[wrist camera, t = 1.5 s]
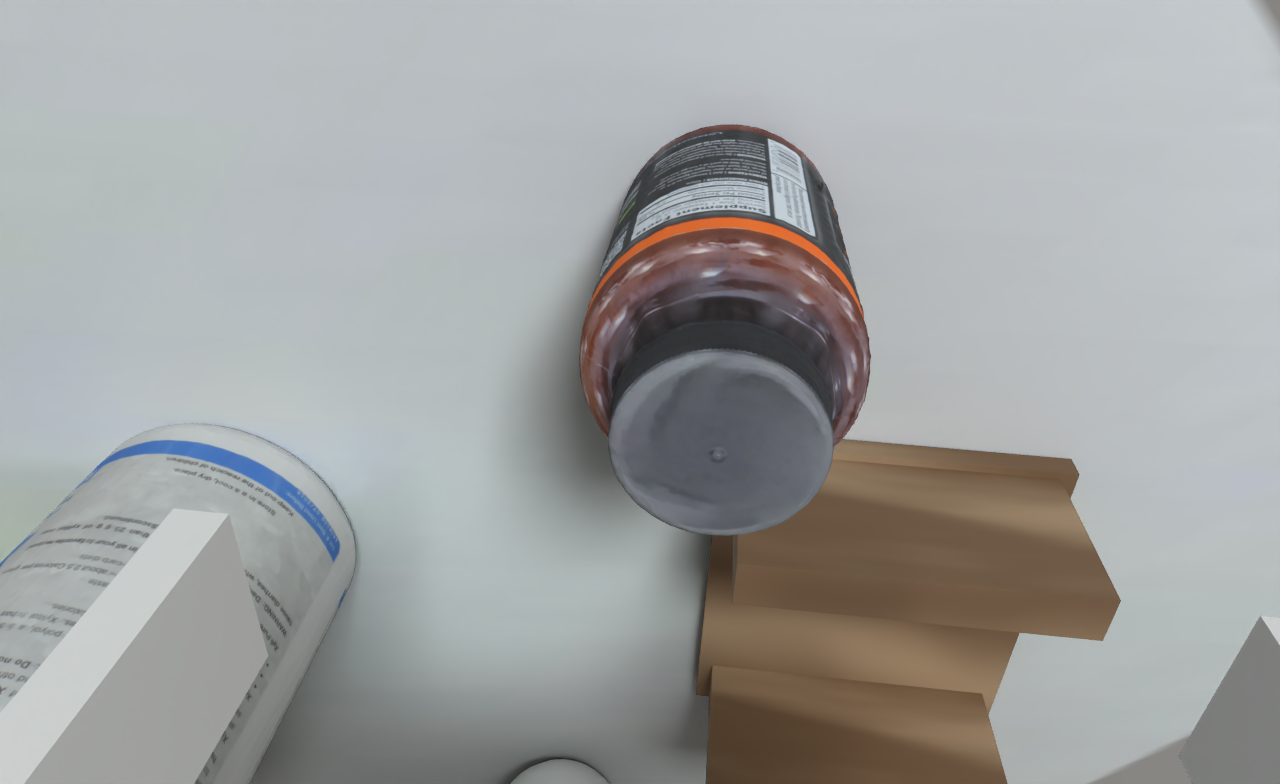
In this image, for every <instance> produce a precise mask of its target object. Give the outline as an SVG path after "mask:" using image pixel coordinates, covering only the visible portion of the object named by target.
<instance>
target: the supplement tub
mask: <svg viewBox="0 0 1280 784" xmlns="http://www.w3.org/2000/svg"><path fill="white" fill-rule="evenodd" d="M173 509H184V510H194V511H204V512H214V513H224V514H229V516H230V519H231V523H232V527H233V530H234V534H235V537H236V541H237V545H238V548H239V552H240V555H241V559H242V563H243V566H244V570H245V573H246V577H247V581H248V584H249V588H250V592H251V595H252V599H253V602H254V606H255V610H256V613H257V617H258V620H259V624H260V628H261V631H262V635H263V638H264V642H265V646H266V649H267V653H268V657H267V659H266V661H265V663H264V664H263V666H262V668H261V669H260V671H259V673H258V675H257V676H256V678H255V680H254V681H253V683H252V685H251V687H250V688H249V690H248V692H247V693H246V695H245V697H244V699H243V700H242V702H241V704H240V706H239V707H238V709H237V711H236V712H235V714H234V716H233V718H232V719H231V721H230V723H229V724H228V726H227V728H226V730H225V731H224V733H223V735H222V736H221V738H220V740H219V742H218V743H217V745H216V747H215V749H214V750H213V752H212V754H211V755H210V757H209V759H208V761H207V762H206V764H205V766H204V767H203V769H202V771H201V773H200V774H199V776H198V778H197V779H196V781H195V783H194V784H249V783H250V781H251V779H252V777H253V775H254V773H255V772H256V770H257V768H258V766H259V764H260V762H261V760H262V758H263V756H264V754H265V752H266V750H267V748H268V746H269V744H270V742H271V740H272V738H273V736H274V734H275V732H276V730H277V728H278V726H279V724H280V722H281V720H282V718H283V716H284V714H285V712H286V711H287V709H288V707H289V705H290V703H291V701H292V699H293V697H294V695H295V693H296V691H297V689H298V687H299V685H300V683H301V681H302V679H303V677H304V675H305V673H306V671H307V669H308V667H309V665H310V663H311V661H312V659H313V657H314V656H315V654H316V652H317V650H318V648H319V646H320V644H321V642H322V640H323V638H324V636H325V634H326V632H327V630H328V628H329V626H330V624H331V622H332V620H333V618H334V616H335V614H336V612H337V610H338V608H339V606H340V604H341V602H342V600H343V597H344V595H345V593H346V591H347V589H348V587H349V585H350V582H351V580H352V577H353V573H354V569H355V561H356V549H355V541H354V537H353V532H352V529H351V527H350V524H349V522H348V519H347V517H346V515H345V513H344V511H343V510H342V508H341V506H340V505H339V503H338V502H337V500H336V499H335V497H334V496H333V494H332V493H331V491H330V490H329V489H328V487H327V486H326V485H325V484H324V483H323V481H322V480H321V479H320V478H319V477H318V476H317V475H316V474H315V473H314V472H313V471H312V470H311V469H309V468H308V467H307V466H306V465H305V464H303V463H302V462H301V461H300V460H298V459H297V458H295V457H294V456H292V455H291V454H290V453H288V452H286V451H285V450H283V449H281V448H279V447H277V446H276V445H274V444H272V443H270V442H268V441H266V440H263V439H261V438H258V437H256V436H253V435H251V434H248V433H245V432H242V431H239V430H235V429H231V428H226V427H222V426H217V425H208V424H176V425H168V426H163V427H158V428H155V429H152V430H148V431H145V432H143V433H141V434H139V435H137V436H134V437H132V438H130V439H129V440H127V441H126V442H124V443H123V444H121V445H120V446H119V447H118V448H116V449H115V450H114V451H113V452H112V453H111V454H110V455H109V456H108V457H107V458H106V459H105V460H104V461H103V462H102V463H101V464H100V465H99V466H97V467H96V468H95V469H94V470H93V471H92V472H91V473H90V474H89V475H88V476H87V477H86V479H85V480H84V481H83V482H82V483H81V484H80V485H79V486H77V487H76V489H75V490H73V491H72V492H71V493H70V494H69V495H68V496H67V497H66V498H65V499H64V500H63V501H62V502H61V504H60V505H59V506H58V507H57V508H56V509H55V510H54V511H53V512H52V513H51V514H50V515H49V516H48V517H47V518H46V519H45V520H44V521H43V522H42V523H41V524H40V525H39V526H38V527H37V528H36V529H35V530H34V531H33V532H32V533H31V534H30V535H29V536H28V537H27V538H26V539H25V540H24V541H23V542H22V543H21V544H19V545H18V546H17V547H16V548H15V549H14V550H13V551H12V552H11V553H10V554H9V555H8V556H7V557H6V558H5V559H4V560H3V561H2V562H1V563H0V712H1V711H2V710H3V709H4V708H5V707H6V705H7V704H8V703H9V702H10V701H11V699H12V698H13V697H14V696H15V695H16V694H17V692H18V691H19V690H20V689H21V688H22V687H23V685H24V684H25V683H26V682H27V681H28V679H29V678H30V677H31V676H32V675H33V674H34V672H35V671H36V670H37V669H38V668H39V666H40V665H41V664H42V663H43V662H44V661H45V659H46V658H47V657H48V656H49V655H50V654H51V652H52V651H53V650H54V649H55V648H56V646H57V645H58V644H59V643H60V642H61V641H62V639H63V638H64V637H65V636H66V635H67V633H68V632H69V631H70V630H71V629H72V628H73V626H74V625H75V624H76V623H77V622H78V621H79V619H80V618H81V617H82V616H83V615H84V613H85V612H86V611H87V610H88V609H89V608H90V606H91V605H92V604H93V603H94V602H95V600H96V599H97V598H98V597H99V596H100V595H101V593H102V592H103V591H104V590H105V589H106V587H107V586H108V585H109V584H110V583H111V582H112V580H113V579H114V578H115V577H116V576H117V575H118V573H119V572H120V571H121V570H122V569H123V567H124V566H125V565H126V564H127V563H128V562H129V560H130V559H131V558H132V557H133V556H134V554H135V553H136V552H137V551H138V550H139V549H140V547H141V546H142V545H143V544H144V543H145V542H146V540H147V539H148V538H149V537H150V536H151V534H152V533H153V532H154V531H155V530H156V529H157V527H158V526H159V525H160V524H161V523H162V521H163V520H164V519H165V518H166V517H167V516H168V514H169V513H170V512H171V511H172V510H173Z"/></svg>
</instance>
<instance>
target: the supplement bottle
mask: <svg viewBox="0 0 1280 784" xmlns="http://www.w3.org/2000/svg"><path fill="white" fill-rule="evenodd" d="M870 359H871V354H870V350H869V337H868V334H867V328H866V325H865V322H864V314H863V308H862V306H861V304H860V300H859V296H858V293H857V290H856V286H855V282H854V279H853V276H852V271H851V267H850V264H849V259H848V256H847V253H846V248H845V244H844V242H843V236H842V233H841V230H840V226H839V222H838V215H837V212H836V210H835V208H834V204H833V200H832V197H831V195H830V192H829V190H828V188H827V185H826V184H825V183H824V181H823V179H822V177H821V175H820V173H819V172H818V170H817V169H816V167H815V165H814V164H813V163H812V162H811V161H810V160H809V159H808V158H807V157H806V156H805V154H804V153H803V152H802V151H800V150H799V149H797V148H796V147H795V146H794V145H792V144H791V143H789V142H788V141H786V140H784V139H783V138H781V137H779V136H777V135H775V134H772V133H770V132H768V131H766V130H763V129H759V128H756V127H750V126H744V125H716V126H710V127H705V128H700V129H698V130H695V131H692V132H689V133H686V134H684V135H682V136H681V137H678V138H676V139H674V140H673V141H671V142H670V143H668V144H667V145H665V146H663V147H662V148H661V149H660V150H659V151H658V152H657V153H656V154H655V155H654V156H653V157H652V158H651V159H650V160H649V161H648V162H647V163H646V164H645V166H644V167H643V168H642V169H641V171H640V172H639V174H638V175H637V177H636V179H635V180H634V182H633V184H632V186H631V188H630V190H629V191H628V194H627V196H626V198H625V201H624V204H623V207H622V210H621V212H620V215H619V219H618V221H617V224H616V227H615V230H614V233H613V236H612V239H611V241H610V245H609V248H608V250H607V253H606V256H605V259H604V261H603V265H602V268H601V272H600V275H599V278H598V281H597V284H596V287H595V290H594V292H593V296H592V300H591V302H590V304H589V307H588V311H587V314H586V317H585V321H584V325H583V329H582V336H581V344H580V357H579V360H580V377H581V383H582V387H583V391H584V394H585V398H586V401H587V404H588V406H589V408H590V410H591V412H592V414H593V416H594V418H595V420H596V422H597V423H598V425H599V427H600V429H601V430H602V432H603V433H604V434H605V436H606V437H607V439H608V446H609V454H610V459H611V463H612V466H613V469H614V472H615V475H616V477H617V479H618V481H619V482H620V483H621V484H622V486H623V488H624V489H625V491H626V492H627V493H628V494H629V495H630V496H631V498H632V499H633V500H634V501H635V502H636V503H637V504H638V505H639V506H640V507H641V508H643V509H645V510H646V511H647V512H648V513H650V514H651V515H653V516H654V517H656V518H657V519H659V520H661V521H663V522H665V523H667V524H669V525H671V526H674V527H677V528H680V529H683V530H686V531H689V532H692V533H697V534H706V535H715V536H718V535H724V536H730V535H744V534H748V533H753V532H758V531H762V530H765V529H767V528H769V527H772V526H776V525H778V524H780V523H783V522H784V521H786V520H788V519H789V518H791V517H792V516H794V515H795V514H796V513H797V512H799V511H800V510H801V509H802V508H804V507H805V506H806V505H807V504H809V502H810V501H811V500H812V498H813V497H814V496H815V495H816V494H817V493H818V492H819V490H820V488H821V487H822V485H823V483H824V481H825V479H826V477H827V475H828V473H829V470H830V466H831V463H832V458H833V451H834V447H835V446H836V445H838V444H839V442H840V441H841V439H842V438H843V437H844V436H845V435H846V434H847V432H848V431H849V430H850V428H851V427H852V425H853V424H854V422H855V420H856V419H857V417H858V413H859V411H860V409H861V407H862V404H863V402H864V401H865V397H866V392H867V387H868V383H869V375H870Z"/></svg>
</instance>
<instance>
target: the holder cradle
mask: <svg viewBox="0 0 1280 784" xmlns="http://www.w3.org/2000/svg"><path fill="white" fill-rule="evenodd" d="M1078 477H1079V473H1078V471H1077V469H1076V467H1075V465H1074V463H1073V461H1072V460H1071V459H1063V458H1052V457H1040V456H1029V455H1017V454H1006V453H994V452H983V451H972V450H960V449H949V448H937V447H926V446H914V445H903V444H891V443H880V442H868V441H857V440H845V439H841V441H840V442H839V444H838V445H836V446H835V447H834V451H833V458H832V463H831V466H830V470H829V473H828V475H827V477H826V479H825V481H824V483H823V485H822V487H821V488H820V490H819V492H818V493H817V494H816V495H815V496H814V497H813V498H812V500H811V501H810V502H809V504H807V505H806V506H805V507H804V508H802V509H801V510H800V511H799V512H797V513H796V514H795V515H794V516H792V517H791V518H789V519H788V520H786V521H784V522H783V523H780V524H778V525H776V526H772V527H769V528H767V529H765V530H762V531H758V532H753V533H748V534H744V535H730V536H724V535H718V536H715V535H712V542H711V552H710V561H709V570H708V580H707V589H706V598H705V608H704V617H703V626H702V636H701V645H700V654H699V664H698V673H697V686H696V695H702V696H709V714H708V739H707V765H706V784H1007V780H1006V777H1005V773H1004V770H1003V766H1002V763H1001V759H1000V755H999V752H998V748H997V745H996V741H995V738H994V734H993V730H992V727H991V723H990V720H989V716H988V714H989V712H990V709H991V707H992V704H993V701H994V699H995V696H996V693H997V691H998V688H999V685H1000V683H1001V680H1002V678H1003V675H1004V672H1005V670H1006V667H1007V664H1008V662H1009V659H1010V656H1011V654H1012V651H1013V649H1014V646H1015V643H1016V641H1017V638H1018V635H1019V633H1029V634H1039V635H1049V636H1059V637H1069V638H1079V639H1089V640H1100V641H1103V639H1104V637H1105V635H1106V633H1107V630H1108V628H1109V626H1110V624H1111V621H1112V619H1113V617H1114V615H1115V613H1116V610H1117V608H1118V606H1119V604H1120V602H1121V600H1120V598H1119V596H1118V594H1117V592H1116V590H1115V588H1114V586H1113V584H1112V582H1111V580H1110V578H1109V576H1108V574H1107V572H1106V570H1105V568H1104V566H1103V564H1102V562H1101V560H1100V558H1099V556H1098V554H1097V552H1096V550H1095V548H1094V546H1093V544H1092V542H1091V540H1090V538H1089V536H1088V534H1087V532H1086V530H1085V528H1084V526H1083V524H1082V522H1081V520H1080V518H1079V516H1078V514H1077V512H1076V510H1075V508H1074V506H1073V504H1072V502H1071V500H1070V498H1071V495H1072V493H1073V490H1074V488H1075V485H1076V482H1077V480H1078Z"/></svg>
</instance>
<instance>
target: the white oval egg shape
mask: <svg viewBox="0 0 1280 784" xmlns="http://www.w3.org/2000/svg"><path fill="white" fill-rule="evenodd" d="M511 784H609V783H608V782H607V781H606V780H605V779H604V778H603V777H602V776H601V775H600V774H599V773H598V772H597V771H595V770H594V769H592V768H591V767H589V766H588V765H586V764H583V763H580V762H577V761H573V760H566V759H555V760H549V761H546V762H542V763H540V764H537V765H535V766H532V767H530V768H528V769H527V770H525V771H524V772H522V773H521V774H519V775H518V776H517V777H516V778H515V779H514V781H513V782H512V783H511Z"/></svg>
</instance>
